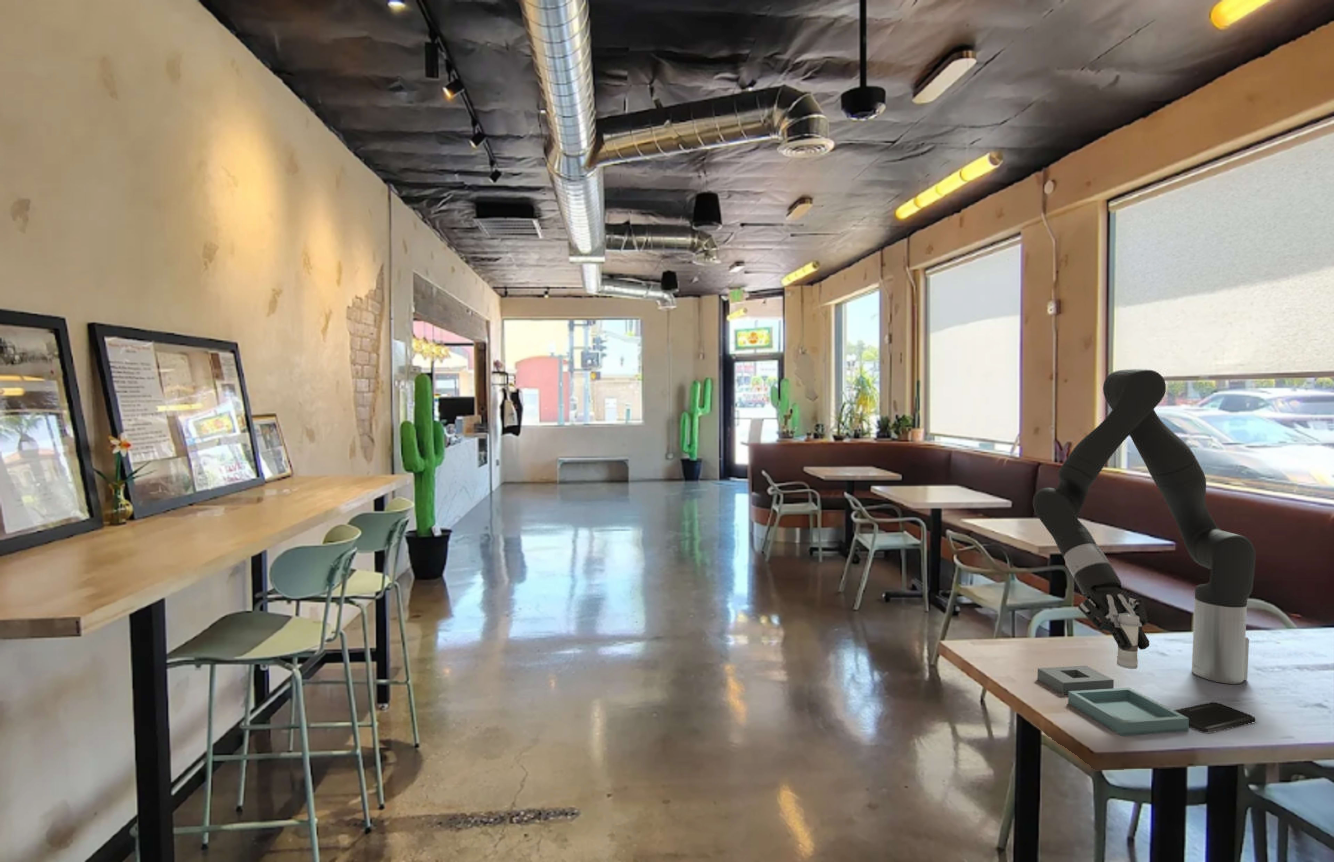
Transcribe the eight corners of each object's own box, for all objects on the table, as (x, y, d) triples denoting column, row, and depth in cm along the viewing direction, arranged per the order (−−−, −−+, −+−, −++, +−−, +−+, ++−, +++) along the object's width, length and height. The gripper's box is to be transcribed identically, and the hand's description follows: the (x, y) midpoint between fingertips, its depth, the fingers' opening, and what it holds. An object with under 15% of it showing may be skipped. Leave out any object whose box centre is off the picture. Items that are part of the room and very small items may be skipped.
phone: (1258, 718, 134) (1205, 729, 129) (1258, 723, 134) (1205, 735, 129) (1214, 701, 141) (1163, 711, 136) (1214, 706, 141) (1163, 717, 136)
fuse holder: (1085, 676, 155) (1085, 665, 155) (1113, 691, 147) (1113, 679, 147) (1037, 679, 154) (1037, 668, 154) (1063, 694, 146) (1063, 682, 146)
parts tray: (1128, 699, 144) (1128, 687, 143) (1188, 731, 130) (1188, 718, 130) (1068, 703, 141) (1068, 691, 141) (1122, 736, 128) (1123, 723, 128)
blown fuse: (1127, 661, 137) (1129, 612, 137) (1141, 668, 134) (1143, 618, 133) (1112, 662, 137) (1114, 613, 136) (1126, 669, 133) (1128, 618, 133)
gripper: (1071, 561, 141) (1115, 641, 129) (1131, 560, 143) (1181, 638, 131) (1051, 580, 146) (1093, 658, 135) (1110, 578, 148) (1156, 655, 137)
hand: (1136, 647), depth 133 cm, fingers closed on blown fuse, 3 cm apart
